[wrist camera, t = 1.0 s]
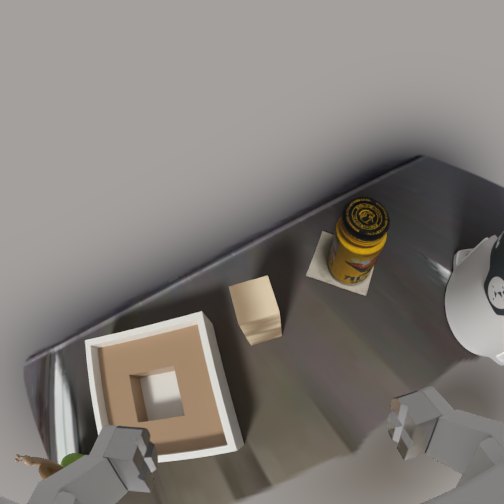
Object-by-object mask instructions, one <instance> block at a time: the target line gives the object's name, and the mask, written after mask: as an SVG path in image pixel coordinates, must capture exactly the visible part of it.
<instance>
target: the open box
mask: <svg viewBox="0 0 504 504" xmlns="http://www.w3.org/2000/svg"><path fill="white" fill-rule="evenodd" d="M85 345H86V356H87V366H88V375H89V383H90V390H91V397H92V404H93V410H94V416H95V421H96V426H97V431H98V436H99V434H100V432H101V430H102V427H103V426H105V425H115V426H128V427H141V428H147V429H148V431H149V433H150V435H151V436H150V440H149V441H151V442H152V443H153V444H154V445H155V447H156V449H157V454H158V462H167V461H176V460H184V459H192V458H199V457H205V456H211V455H217V454H222V453H228V452H233V451H237V450H239V449H240V448H241V447H242V446H243V445H244V441H243V438H242V435H241V431H240V428H239V424H238V420H237V417H236V413H235V410H234V406H233V402H232V399H231V395H230V391H229V387H228V383H227V380H226V376H225V372H224V368H223V364H222V360H221V356H220V352H219V348H218V344H217V340H216V335H215V331H214V327H213V324H212V323H211V321H210V320H209V319H208V318H207V317H206V315H205V314H204V313H203V312H202V311H201V312H197V313H193V314H189V315H186V316H182V317H178V318H174V319H171V320H167V321H163V322H159V323H155V324H151V325H147V326H143V327H139V328H135V329H131V330H127V331H123V332H119V333H114V334H110V335H106V336H102V337H97V338H93V339H89V340H85Z"/></svg>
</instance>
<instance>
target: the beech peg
mask: <svg viewBox="0 0 504 504" xmlns="http://www.w3.org/2000/svg"><path fill="white" fill-rule="evenodd" d="M229 290H230V293H231V297H232V301H233V305H234V309H235V313H236V316H237V320H238V324H239V326H240V328H241V329H242V331H243V333H244V334H245V336H246V338H247V340H248V341H249V343H250V345H253V344H257V343H260V342H264V341H267V340H271V339H274V338H277V337H281V336H282V331H281V320H280V312H279V308H278V305H277V302H276V299H275V296H274V293H273V290H272V287H271V284H270V280H269V277H268V275H267V276H264V277H260V278H257V279H253V280H250V281H247V282H243V283H240V284H236V285H233V286H229Z"/></svg>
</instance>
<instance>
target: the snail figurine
mask: <svg viewBox="0 0 504 504" xmlns="http://www.w3.org/2000/svg"><path fill="white" fill-rule="evenodd" d="M83 456H84V455H83V454H79V453H72V454H69V455H67V456H65V457H64V458H63V460H62V462H61V465H59V464H57V463H56V462H54V461H51V460H48V459H44V458H38V457H30V456H27V455H26V456H22V457H23V460H21V461H23V462H24V463H25V464H26V465H28V466H31V465H36V466H40V467H39V473H40V475H41V477H42V478H43V480H44V479H46V478H48V477H49V476H51V475H53V474H54V473H56V472H58V471H60V470H61V469H63V468H65V467H66V466H68V465H70V464H71V463H73V462H75V461H76V460H78V459H79V458H81V457H83ZM17 458H18V459H19V458H20V456H19V455H18V454H17V455H16V459H15V461H16V462H19V460H18V459H17Z"/></svg>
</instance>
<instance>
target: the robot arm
mask: <svg viewBox="0 0 504 504" xmlns="http://www.w3.org/2000/svg"><path fill="white" fill-rule="evenodd" d="M445 310H446V316H447V320H448V323H449V325H450V328H451V330H452V332H453V334H454V335H455V337H456V339H457V340H458V341H459V342H460V343H461V345H462V346H463V347H465V348H466V349H467V350H469V351H470V352H472V353H474V354H477V355H480V356H486V357H490V358H491V359H492V360H494V361H495V362H496V363H498V364H499V365H502V366H503V365H504V231H503V232H502V234H501V235H500V236H499V237H497V236H496V235H493V236H491V237H490V238H487V237H486V238H485V239H483V240H482V241H481V242H480V243H479V244H478V245H477V246H476V247H475V248H472V249H465V250H460V251H458V252H457V253H456V254H455V255H454V259H453V273H452V276H451V278H450V280H449V282H448V285H447V288H446V293H445ZM390 407H391V409H392V410H393V411H392V412H391V414H390V415H389V416H388V421H387V426H388V432H389V435H390V437H391V439H392V440H393V441H396V442H398V447H397V449H398V451H399V452H400V454H401V456H402V458H403V459H404V460H408V459H411V458H414V457H417V456H420V455H422V454H425V453H426V455H428V456H429V457H431V458H433V459H435V460H437V461H438V462H440V463H442V464H444V465H446V466H448V467H450V468H451V469H453V470H455V471H457V472H459V473H461V474H463V475H462V477H461V479H460V480H459V482H458V484H457V486H456V488H454V489H452V490H450V491H448V492H446V493H444V494H442V495H439V496H437V497H435V498H433V499H431V500H428V501H426V502H424V503H421V504H504V423H503V422H499V421H495V420H492V419H488V418H485V417H481V416H478V415H474V414H471V413H468V412H465V411H461V410H455V411H454V409H453V408H452V407H451V406H450V405H449V404H448V403H447V402H446V401H445V399H444V398H443V397H442V396H441V395H440V394H439V393H438V392H437V391H436V390H435V388H434V387H432V386H429V387H426V388H423V389H420V390H418V391H415V392H411V393H408V394H405V395H402V396H399V397H395V398H393V400H392V401H391V406H390ZM150 436H151V435H150V433H149V431H148V429H147V428H141V427H128V426H115V425H105V426H103V427H102V430H101V432H100V434H99V436H98V438H97V440H96V442H95V444H94V446H93V448H92V450H91V452H90V454H89V455H84V456H83V457H81V458H79V459H78V460H76V461H75V462H73V463H71V464H70V465H68V466H66V467H65V468H63V469H61V470H60V471H58V472H56V473H54V474H53V475H51V476H49V477H48V478H46V479H44V480H43V481H41V482H39V483H38V485H37V487H36V488H35V490H34V492H33V494H32V496H31V498H30V499H29V502H28V503H27V504H115V503H116V502H118V501H119V500H120V499H121V498H122V497H123V496H124V495H125V494H126V493H127V492H128V491H138V492H151V490H152V486H153V482H154V477H153V475H152V472H153V471H155V470H156V469H157V464H158V454H157V449H156V447H155V445H154V444H153V443H152V442H151V441H149V440H150ZM127 490H128V491H127ZM0 504H18V503H16V502H14V501H11V500H9V499H7V498H5V497H3V496H1V495H0Z"/></svg>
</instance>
